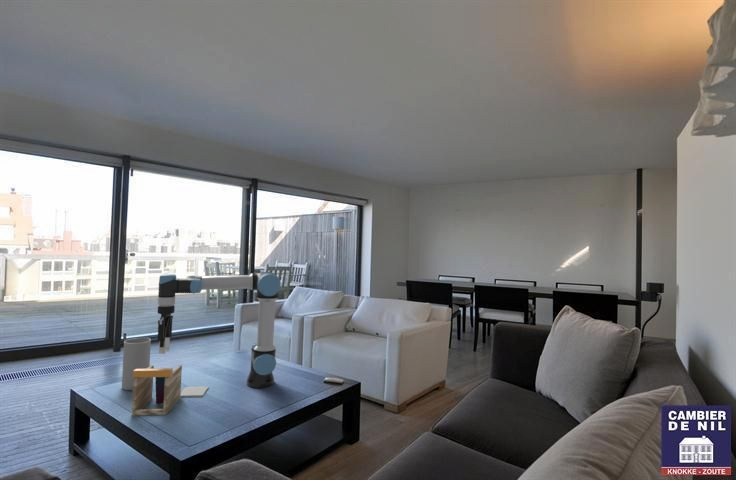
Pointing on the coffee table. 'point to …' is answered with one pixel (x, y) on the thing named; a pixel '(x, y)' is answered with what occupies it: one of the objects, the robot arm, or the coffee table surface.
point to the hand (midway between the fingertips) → (164, 351)
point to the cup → (160, 389)
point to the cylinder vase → (134, 359)
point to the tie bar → (153, 372)
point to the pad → (193, 391)
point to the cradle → (144, 393)
